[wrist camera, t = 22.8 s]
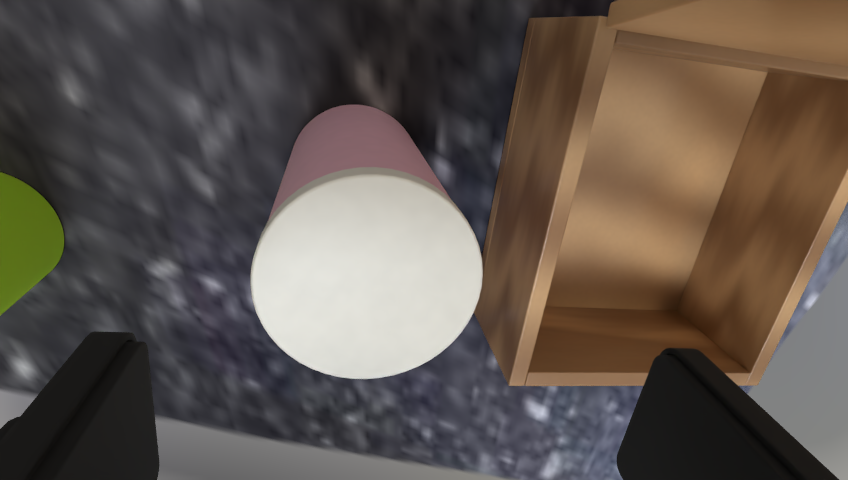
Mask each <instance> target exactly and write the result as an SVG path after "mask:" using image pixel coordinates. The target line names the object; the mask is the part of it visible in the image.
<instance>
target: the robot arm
mask: <svg viewBox="0 0 848 480" xmlns="http://www.w3.org/2000/svg"><path fill="white" fill-rule="evenodd" d="M617 467H618V470H619V473H620V475H621V477H622V478H623V480H839V479H838V478H837V477H836V476H835V475H833V474H832V473H831V472H830V471H829V470H828V469H827V468H826V467H825V466H824V465H823V464H822V463H821V462H819V461H818V460H817V459H816V458H815V457H814V456H813V455H812V454H811V453H810V452H809V451H808V450H806V449H805V448H804V447H803V446H802V445H801V444H800V443H799V442H798V441H797V440H796V439H795V438H794V437H793V436H791V435H790V434H789V433H788V432H787V431H786V430H785V429H784V428H783V427H782V426H781V425H780V424H779V423H778V422H776V421H775V420H774V419H773V418H772V417H771V416H770V415H769V414H768V413H767V412H765V410H763V409H762V408H761V407H760V406H759V405H758V404H757V403H756V402H755V401H754V400H753V399H752V398H751V397H749V396H748V395H747V394H746V393H745V392H744V391H743V390H742V389H741V388H740V387H739V386H738V385H737V384H736V383H734V382H733V381H732V380H731V379H730V378H729V377H728V376H727V375H726V374H725V373H724V372H723V371H722V370H720V369H719V368H718V367H717V366H716V365H715V364H714V363H713V362H712V361H711V360H710V359H709V358H708V357H706V356H705V355H704V354H703V353H702V352H701V351H699V350H697V349H693V348H667V349H664V350H663V351H662V352H661V354H660V355H658V356H657V357H655V359H654V360H653V363H652V365H651V368H650V370H649V373H648V376H647V378H646V381H645V384H644V386H643V389H642V391H641V394H640V397H639V399H638V402H637V404H636V407H635V410H634V412H633V415H632V417H631V420H630V423H629V425H628V428H627V431H626V433H625V436H624V438H623V441H622V444H621V446H620V449H619V451H618V455H617ZM158 472H159V455H158V445H157V436H156V425H155V415H154V406H153V396H152V386H151V376H150V366H149V356H148V348H147V345H146V343H145V342H136V338H135V336H134V334H132V333H125V332H92V333H90V334H89V335H88V336H87V337H86V338H85V339H84V340H83V342H82V343H81V344H80V345H79V346H78V348H77V349H76V350H75V351H74V352H73V354H72V355H71V356H70V357H69V358H68V360H67V361H66V362H65V363H64V364H63V366H62V367H61V368H60V369H59V371H58V372H57V373H56V374H55V375H54V377H53V378H52V379H51V380H50V381H49V383H48V384H47V385H46V386H45V387H44V389H43V390H42V391H41V392H40V393H39V395H38V396H37V397H36V398H35V400H34V401H33V402H32V403H31V404H30V406H29V407H28V408H27V409H26V410H25V412H24V413H23V414H22V415H21V416H20V417H16V418H14V419H12V420H10V421H8V422H7V423H6V424H5V425H4V426H3V427H2V428H1V429H0V480H157V477H158Z"/></svg>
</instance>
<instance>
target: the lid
mask: <svg viewBox="0 0 848 480" xmlns="http://www.w3.org/2000/svg"><path fill="white" fill-rule="evenodd" d="M606 27H608V28H611V29H617V30H623V31H629V32H635V33H642V34H648V35H654V36H660V37H667V38H673V39H679V40H685V41H692V42H698V43H704V44H710V45H717V46H723V47H729V48H735V49H741V50H748V51H754V52H760V53H766V54H773V55H779V56H785V57H791V58H798V59H804V60H810V61H816V62H822V63H829V64H835V65H841V66H847V67H848V0H617V1H614V2H612V3H611V4H610V8H609V13H608V19H607V24H606Z"/></svg>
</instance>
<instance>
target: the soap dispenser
mask: <svg viewBox="0 0 848 480" xmlns="http://www.w3.org/2000/svg"><path fill="white" fill-rule="evenodd" d="M63 249H64V233H63V228H62V225H61V222H60V220H59V218H58V216H57V214H56V212H55V211H54V209H53V208H52V206H51V205H50V204H49V203H48V202H47V200H46V199H45V198H44V197H43V196H42V195H40V194H39V193H38V192H37V191H36V190H35V189H33V188H32V187H30V186H29V185H27V184H26V183H24V182H22V181H21V180H19V179H17V178H15V177H12V176H10V175H7V174H5V173H2V172H0V315H1V314H3V313H4V312H5V311H6V310H7V309H8V308H9V307H11V306H12V305H13V304H14V303H15V302H16V301H17V300H19V299H20V298H21V297H22V296H23V295H24V294H26V293H27V292H28V291H29V290H30V289H31V288H32V287H34V286H35V285H36V284H37V283H38V282H39V281H40V280H42V279H43V278H44V277H45V276H46V275H47V274H48V273H50V272H51V271H52V270H53V269H54V268H55V266H56V265H57V264H58V262H59V260H60V258H61V256H62V253H63Z"/></svg>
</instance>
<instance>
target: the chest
mask: <svg viewBox="0 0 848 480" xmlns="http://www.w3.org/2000/svg"><path fill="white" fill-rule="evenodd" d="M607 19H608V17H605V16H578V17H543V18H529V21H528V26H527V31H526V36H525V41H524V46H523V51H522V56H521V62H520V67H519V72H518V77H517V82H516V87H515V92H514V97H513V102H512V107H511V112H510V117H509V123H508V128H507V133H506V138H505V143H504V148H503V153H502V158H501V163H500V168H499V173H498V178H497V183H496V189H495V194H494V199H493V204H492V209H491V214H490V219H489V224H488V229H487V234H486V239H485V244H484V249H483V255H482V266H483V277H482V287H481V291H480V296H479V300H478V302H477V305H476V308H475V310H474V314H475V315H476V318H477V320H478V322H479V324H480V326H481V328H482V330H483V332H484V335H485V337H486V339H487V341H488V343H489V345H490V347H491V349H492V351H493V353H494V355H495V358H496V360H497V362H498V364H499V366H500V368H501V370H502V372H503V374H504V376H505V379H506V381H507V383H508V385H509V386H524V385H525V386H644V384H645V381H646V378H647V376H648V373H649V370H650V368H651V365H652V363H653V360H654V359H655V357H657V356H658V355H660V354H661V352H662V351H663V350H664V349H667V348H693V349H697V350H699V351H701V352H702V353H703V354H704V355H705V356H706V357H708V358H709V359H710V360H711V361H712V362H713V363H714V364H715V365H716V366H717V367H718V368H719V369H720V370H722V371H723V372H724V373H725V374H726V375H727V376H728V377H729V378H730V379H731V380H732V381H733V382H734V383H736V384H737V385H738V386H739V385H758V384H759V382H760V380H761V378H762V376H763V374H764V372H765V369H766V367H767V365H768V363H769V361H770V359H771V357H772V355H773V353H774V351H775V349H776V347H777V345H778V343H779V341H780V339H781V337H782V335H783V333H784V331H785V329H786V327H787V324H788V322H789V320H790V318H791V316H792V314H793V312H794V310H795V308H796V306H797V304H798V302H799V300H800V298H801V296H802V294H803V292H804V290H805V288H806V286H807V284H808V282H809V279H810V277H811V275H812V273H813V271H814V269H815V267H816V265H817V263H818V261H819V259H820V257H821V255H822V253H823V251H824V249H825V247H826V245H827V243H828V241H829V239H830V237H831V235H832V232H833V230H834V228H835V226H836V224H837V222H838V220H839V218H840V216H841V214H842V212H843V210H844V208H845V206H846V204H847V202H848V67H847V66H841V65H835V64H829V63H822V62H816V61H810V60H804V59H798V58H791V57H785V56H779V55H773V54H766V53H760V52H754V51H748V50H741V49H735V48H729V47H723V46H717V45H710V44H704V43H698V42H692V41H685V40H679V39H673V38H667V37H660V36H654V35H648V34H642V33H635V32H629V31H623V30H617V29H611V28H608V27H606V24H607Z"/></svg>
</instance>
